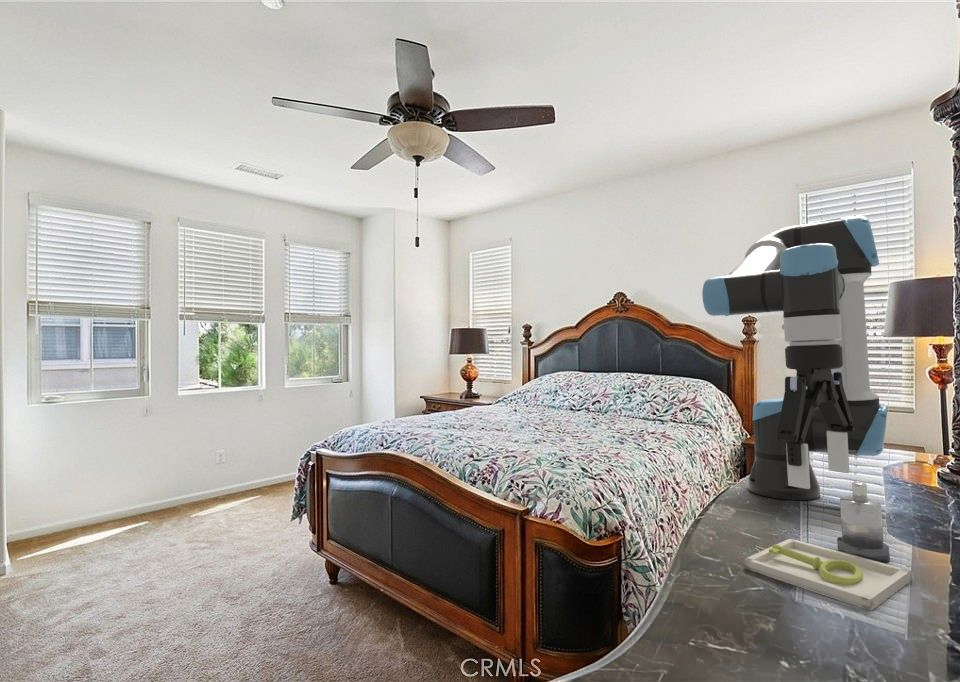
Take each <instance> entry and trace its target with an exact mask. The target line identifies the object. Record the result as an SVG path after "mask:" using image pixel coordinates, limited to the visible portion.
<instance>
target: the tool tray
mask: <svg viewBox="0 0 960 682" xmlns="http://www.w3.org/2000/svg"><path fill="white" fill-rule="evenodd" d="M777 545H779V546H782V547H785V548H788V549H790V550H793V551H796V552H798V553H801V554H804V555H807V556H809V557H812V558H815V557H819V558H820V560H821V561H823V562H825V561H828V560H844V561H848V562H850V563H853V564H855V565H857V566H858V567H859V568H860V569H861V571H862V574H863V577H862V579H861V580H860V581H859V582H857V583H854V584H850V585H839V584H834V583H831V582H828V581H826V580H825V579H823V578H822V577H821V575H820V571H819V569H820V568H819V569H818V570H815V569H814V568H813V566H812V565H809V564H806V563H804V562H801V561H798V560H796V559H793V558H790V557H788V556H785V555H782V554H780V553H778V554H773V553H772V552H769V549H771V548H772V547H773V545H772V546H770V547H768V548H765V549H763V550H762V551H759V552H756V553H754V554H751V555H749V556H748V557H745V558H744V559H743V566H744V567H743V568H744V569H745V570H747V571H751V572H754V573H756V574H759V575H763V576H766V577H769V578H772V579H775V580H777V581H781V582H783V583H785V584H790V585H793V586H796V587H798V588H800V589H805V590H808V591H810V592H813V593H817V594H820V595H823V596H826V597H828V598H832V599H835V600H837V601H840V602H843V603H846V604H849V605H853V606H855V607H858V608H861V609H865V610H867V611H870V612H872V611H873V610H874V609H875V608H877V607H879V605H881V604H883V603H884V602H885V601H886V600H888V599H889V598H891V597H892V596H893V595H894V594H896V593H897V592H898V590H899V589H900V590H902V589H903V588H904V587H905V586H907V585H908V584H909V583H911V582H910V581H911V580H912V570H910V569H906V568H903V567H899V566H895V565H891V564H889V563H888V564H887V563H881V562H877V561H873V560H869V559H866V558H862V557H858V556H854V555H851V554H847V553H843V552H839V551H838V550H835V549H832V548H827V547H823V546H820V545H816V544H812V543H808V542H805V541H801V540H797V539H793V538H787V539H786V540H783V541H781V542H779V543H777ZM828 572H830V573H832V574H834V575H838V576H845V577H846V576H852V575H854V573H853V572H851V571H848V570H845V569H831V570H828ZM912 581H913V580H912ZM908 582H909V583H908ZM907 583H908V584H907ZM906 584H907V585H906ZM903 586H904V587H903ZM902 587H903V588H902ZM900 590H899V591H900ZM895 592H896V593H895ZM892 594H893V595H892ZM891 595H892V596H891ZM887 598H888V599H887Z"/></svg>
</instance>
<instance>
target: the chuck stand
mask: <svg viewBox="0 0 960 682" xmlns="http://www.w3.org/2000/svg"><path fill="white" fill-rule="evenodd" d="M851 491H852V496H842V497H840V498H839V506H840V507H839V508H840V526H841V529H840V530H841V536H839V537H837V538H836V541H837V542H836V543H837V551H839V552H843V553H847V554H851V555H854V556H858V557H862V558H866V559H869V560H873V561H877V562H881V563H885V564H887V563H888V564H889V562H890V561H891V556H890V546H889V545H888V544H887V543H884V530H883V529H884V528H883V512H882V511H883V510H882V503H881V502H880V501H879V500H875V499H871V498H868V484H867V483H865V482H859V481H853V482H851Z"/></svg>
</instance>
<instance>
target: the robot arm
mask: <svg viewBox="0 0 960 682" xmlns="http://www.w3.org/2000/svg"><path fill="white" fill-rule="evenodd" d="M879 264H880V260H879V256H878V251H877V247H876V242H875V237H874V233H873V230H872V226H871V222H870V220H869V218H867V217H866V216H863V215H855V216H854V215H853V216H846V217H844V216H841V217H838V218H832V219H828V220H822V221H816V222H809V223H806V224H799V225H792V226H791V225H790V226H788V227H787V226H786V227H783V228H781V229H779V230H776V231H774V232H772V233H769V234H767V235H765V236H764V237H762V238H760V239H759V240H757V241H755V242H754V243H753V244H752V245H751V246H750V247H749V248H748V249H747V251H746V253H745V255H744V259H743V260H742V261H741V262H740V263H739V264H738V265H737V266H735V268H734V269H733V270H732V271H731V272H729V274H728V275H725V276H721V275H719V276H717V277H710V278H708V279H706V280H705V281H704V283H703V286H702V292H701V293H702V294H701V295H702V303H703V307H704V310H705V312H706V313H707V314H708V315H710V316H713V317H714V316H724V317H729V316H737V315H747V314H748V315H749V314H759V313H776V312H783V316H782V317H783V324H782V325H781V329H782V330H783V332H784V341H785V342H786V343H789V345H788V346H787V345H786V346H785V348H784V354H785V356H784V357H785V367H786V368H787V369H789V370H795V372H796V374H795V375H796V376H785V377H784V394H783V397H782V396H781V397H775V398H773V397H772V398H767V399H762V400H761V399H760V400H758V401H756V402H755V403H754V404H753V406H752V418H751V419H752V424H753V442H754V443H753V445H754V446H753V447H754V461H753V465H752V466H751V471H750V473H749V476H748V477H749V478H748V479H747V480H748V490H749V491H750V492H752V493H754V494H756V495H759V496H763V497H767V498H774V499H781V500H790V501H792V500H793V501H805V500H814V499H818V498H820V497H821V487H820V486H821V485H820V483H819V481H818V479H817V475H816V474H815V472H814V470H813V467H812V464H811V459H810V452H812V453H813V452H814V453H826V454H827V464H828V471H830V472H835V473H841V474H850V459H849V458H850V456H855V457H859V456H865V457H867V456H868V457H876V456H880V455H881V454H882V453H883V451H884V446H885V445H884V444H885V439H886V437H885V435H886V430H887V429H886V427H887V418H888V409H889V407H888V405H887V404H884V403H880V396H879V395H878V394H877V393H875V392H874V391H873V390H872V389H871V387H870V386H871V383H870V368H869V351H868V338H867V337H868V335H867V334H868V333H867V318H866V316H867V315H866V305H865V304H866V303H865V302H866V301H865V285H864V284H865V282H866V281H867V279H869V278H870V277H871V276H872V273H873V272H872V268H873V267H876V266H878V265H879ZM849 455H850V456H849Z"/></svg>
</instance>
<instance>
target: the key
mask: <svg viewBox="0 0 960 682" xmlns="http://www.w3.org/2000/svg"><path fill="white" fill-rule="evenodd" d="M777 544H778V543H777ZM777 544H776V543H774V544H773V545H772V546H773V547H772V546H771V547H772V548H771V549H769V552H772V553H773V554H778V553H780V554H782V555H785V556H788V557H790V558H793V559H796V560H798V561H801V562H804V563H806V564H809V565H812V566H813V568H814V569H815V570H818V569H819V568H820V569H819V571H820V575H821V577H822V578H823V579H825V580H826V581H828V582H831V583H834V584H839V585H850V584H854V583H857V582H859V581H860V580H861V579H862V577H863V574H862V571H861V569H860V568H859V567H858V566H857V565H855V564H853V563H850V562H848V561H844V560H828V561H825V562H823V561H821V560H820V558H819V557H815V558H812V557H809V556H807V555H804V554H801V553H798V552H796V551H793V550H790V549H788V548H785V547H782V546H779V545H777ZM831 569H845V570H848V571H851V572H853V573H854V575H852V576H846V577H845V576H838V575H834V574H832V573H830V572H828V570H831Z"/></svg>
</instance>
